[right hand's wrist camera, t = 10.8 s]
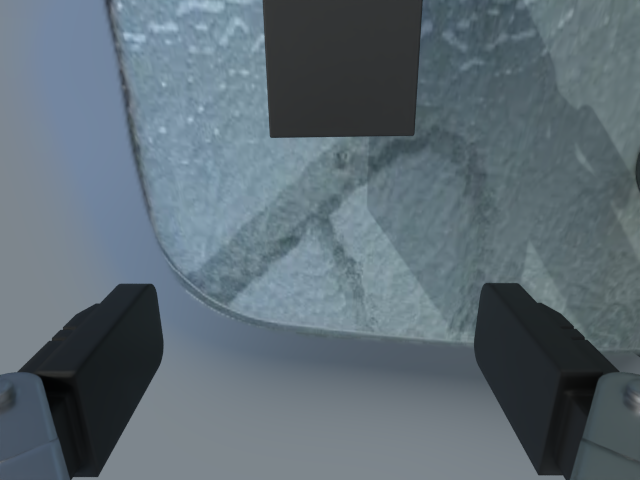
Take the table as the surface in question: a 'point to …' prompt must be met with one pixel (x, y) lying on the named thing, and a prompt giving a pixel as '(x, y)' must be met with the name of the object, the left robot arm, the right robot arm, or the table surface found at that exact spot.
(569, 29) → the table surface
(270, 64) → the box
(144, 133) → the table surface
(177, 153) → the table surface
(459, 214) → the table surface
